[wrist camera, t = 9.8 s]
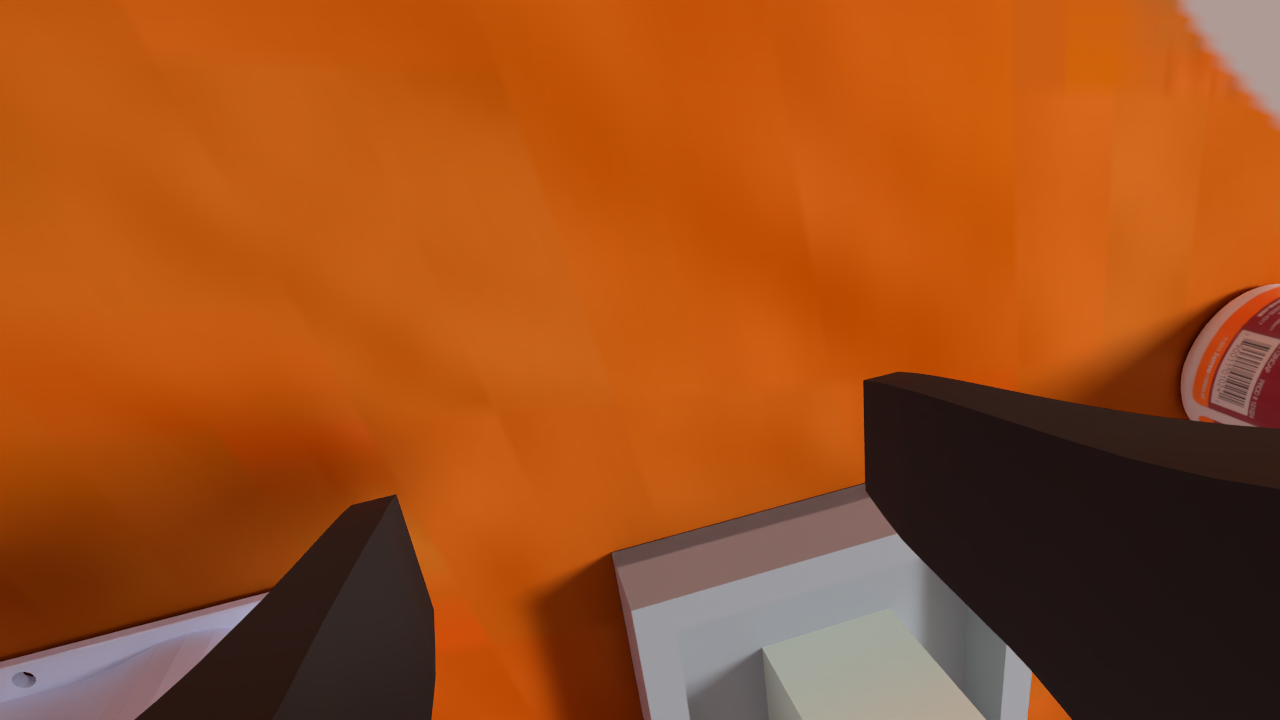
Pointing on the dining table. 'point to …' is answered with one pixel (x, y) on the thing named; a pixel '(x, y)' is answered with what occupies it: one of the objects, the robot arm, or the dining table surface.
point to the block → (860, 675)
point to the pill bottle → (1237, 363)
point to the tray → (791, 607)
